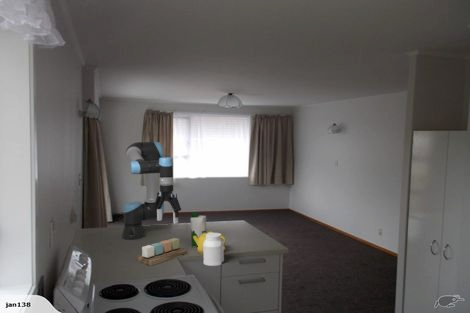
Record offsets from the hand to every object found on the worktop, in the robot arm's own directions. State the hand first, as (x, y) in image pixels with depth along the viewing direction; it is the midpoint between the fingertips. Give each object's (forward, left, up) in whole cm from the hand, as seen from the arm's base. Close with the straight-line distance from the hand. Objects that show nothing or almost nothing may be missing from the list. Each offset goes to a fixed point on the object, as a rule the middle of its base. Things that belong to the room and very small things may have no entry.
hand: (167, 221), depth 210 cm
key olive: (0, +4, -16) cm, 17 cm away
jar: (+29, +7, -20) cm, 36 cm away
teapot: (+14, +19, -20) cm, 31 cm away
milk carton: (0, +24, -20) cm, 31 cm away
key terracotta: (0, -2, -16) cm, 16 cm away
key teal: (0, -8, -16) cm, 18 cm away
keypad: (0, -5, -19) cm, 20 cm away
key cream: (0, -14, -16) cm, 21 cm away
